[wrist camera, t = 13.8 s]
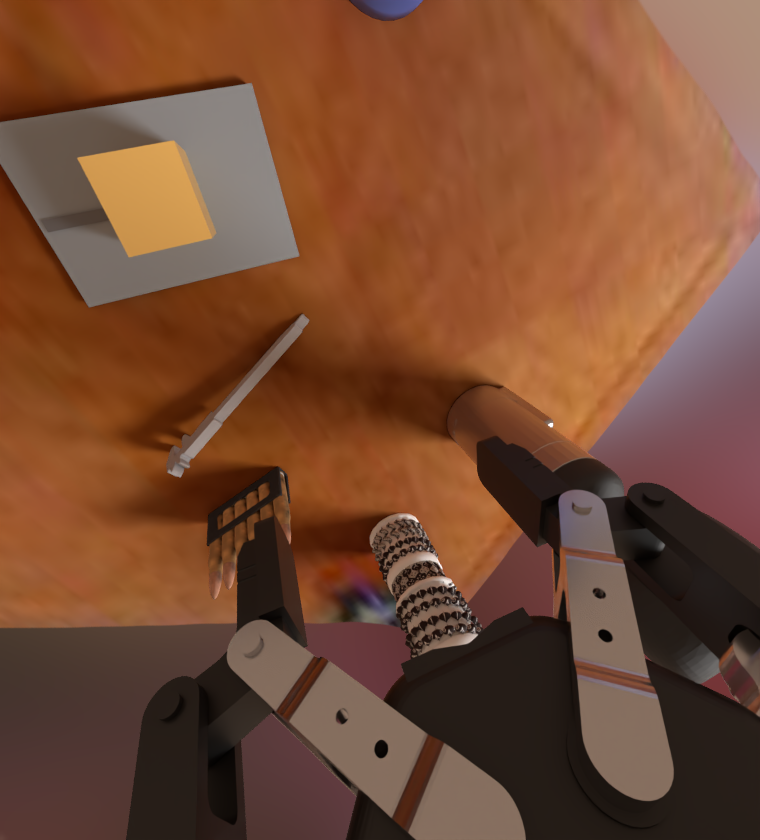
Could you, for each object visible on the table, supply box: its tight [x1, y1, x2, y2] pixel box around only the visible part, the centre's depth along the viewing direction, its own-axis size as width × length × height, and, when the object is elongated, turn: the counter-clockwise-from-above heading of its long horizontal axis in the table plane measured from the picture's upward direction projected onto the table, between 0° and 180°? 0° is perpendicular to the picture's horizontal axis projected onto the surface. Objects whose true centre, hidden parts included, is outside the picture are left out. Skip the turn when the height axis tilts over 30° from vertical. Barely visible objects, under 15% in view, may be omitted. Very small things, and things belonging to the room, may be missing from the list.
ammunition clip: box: [207, 467, 291, 600], centre depth 41 cm, size 11×2×12 cm, turn 120°
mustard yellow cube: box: [77, 140, 216, 257], centre depth 26 cm, size 6×6×6 cm
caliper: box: [167, 314, 309, 478], centre depth 36 cm, size 20×1×6 cm, turn 130°
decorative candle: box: [369, 513, 484, 659], centre depth 48 cm, size 9×9×25 cm
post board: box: [0, 83, 299, 307], centre depth 27 cm, size 18×12×6 cm, turn 100°
